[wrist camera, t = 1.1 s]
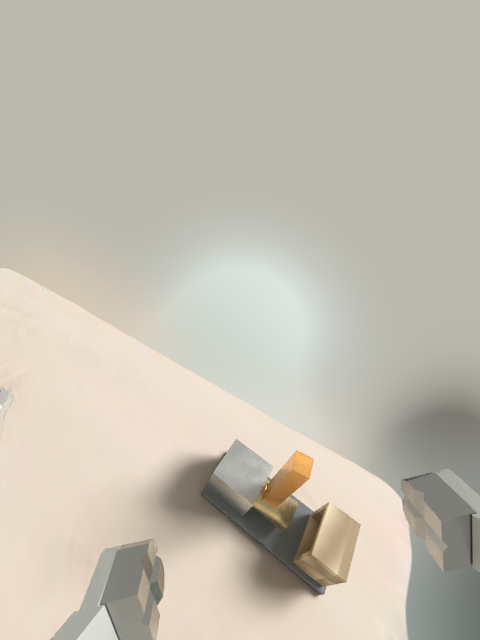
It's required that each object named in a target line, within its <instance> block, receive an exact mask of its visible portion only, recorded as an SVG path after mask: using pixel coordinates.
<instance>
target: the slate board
mask: <svg viewBox="0 0 480 640" xmlns="http://www.w3.org/2000/svg"><path fill="white" fill-rule="evenodd" d="M267 480H269V481H271V479H270V478H269V477H268V478H267ZM207 486H208V485H207ZM207 486H206V488H205V489H204V491H203V492H202V494H201V495H203V496H204V497H205V498H206V499H207V500H208V501H210V502H211V503H212V504H213V505H214V506H216V507H217V508H218V509H219V510H220V511H222V512H223V513H224V514H225V515H226V516H228V517H229V518H230V519H231V520H232V521H234V522H235V523H236V524H237V525H238V526H239V527H241V528H242V529H243V530H244V531H245V532H247V533H248V534H249V535H250V536H251V537H253V538H254V539H255V540H256V541H257V542H259V543H260V544H261V545H262V546H263V547H265V548H266V549H267V550H268V551H269V552H271V553H272V554H273V555H274V556H275V557H276V558H278V559H279V560H280V561H281V562H282V563H284V564H285V565H286V566H287V567H288V568H290V569H291V570H292V571H293V572H294V573H296V574H297V575H298V576H299V577H300V578H302V579H303V580H304V581H305V582H306V583H307V584H309V585H310V586H311V587H312V588H313V589H315V590H316V591H317V592H318V593H319V594H321V595H322V594H324V593H325V590H326V586H323V587H322V586H321V585H320V584H319V583H318V582H316V581H315V580H314V579H313V578H312V577H310V576H309V575H308V574H307V573H305V572H304V571H303V570H302V569H301V568H299V567H298V566H297V565H296V564H295V563H293V560H294V557H295V555H296V552H297V549H298V547H299V544H300V541H301V539H302V536H303V533H304V531H305V528H306V526H307V523H308V520H309V518H310V515H311V514H312V513H313V511H312V510H311V509H309V508H308V507H307V506H306V505H304V504H303V503H302V502H300V501H299V500H298V499H296V498H295V497H294V496H292V495H290V496H289V497H291V498H292V499H293V500H295V501H296V502H297V503H298V506H297V509H296V512H295V514H294V517H293V519H292V521H291V522H290V524H289V526H288V527H287V529H286V530H285V531H282V530H280V529H279V528H278V527H277V526H276V525H274V524H273V523H272V522H271V521H269V520H268V519H267V518H266V517H264V516H263V515H262V514H261V513H259V512H258V511H257V510H256V509H254V508H253V507H251V508H250V509H249V510H248V511H247V512H246V514H245V515H244V516H242V515H241V514H240V513H238V512H237V511H236V510H235V509H234V508H232V507H231V506H230V505H229V504H227V503H226V502H225V501H224V500H223V499H221V498H220V497H219V496H218V495H217V494H215V493H214V492H213V491H212V490H210V489H209V488H208V487H207Z"/></svg>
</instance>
